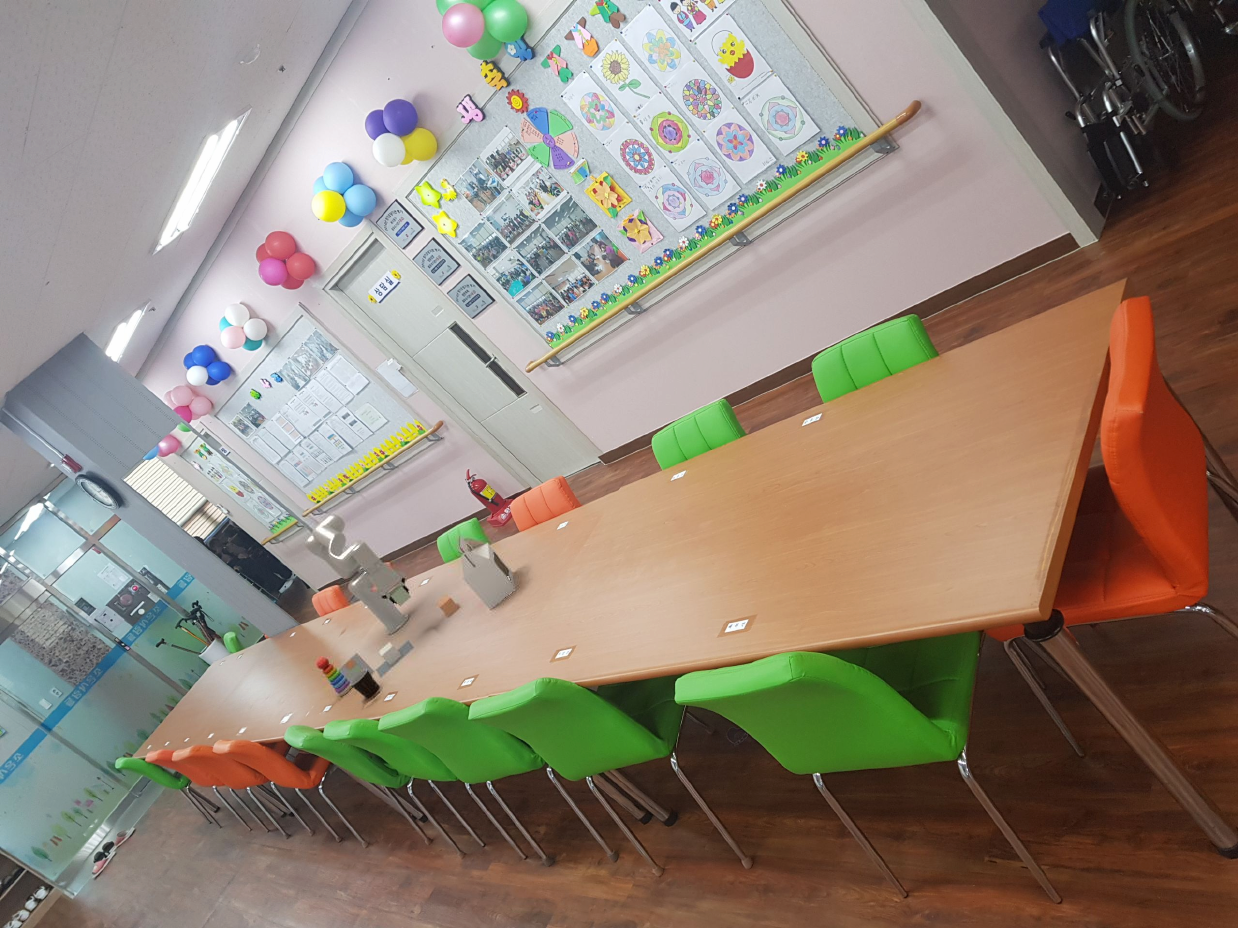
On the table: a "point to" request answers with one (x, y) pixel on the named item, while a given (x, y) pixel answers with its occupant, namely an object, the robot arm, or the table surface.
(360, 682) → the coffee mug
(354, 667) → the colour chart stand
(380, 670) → the build plate
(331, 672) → the stacking toy
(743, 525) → the table surface
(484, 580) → the gable box
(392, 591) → the sage green block
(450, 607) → the terracotta block
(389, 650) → the off-white base block
